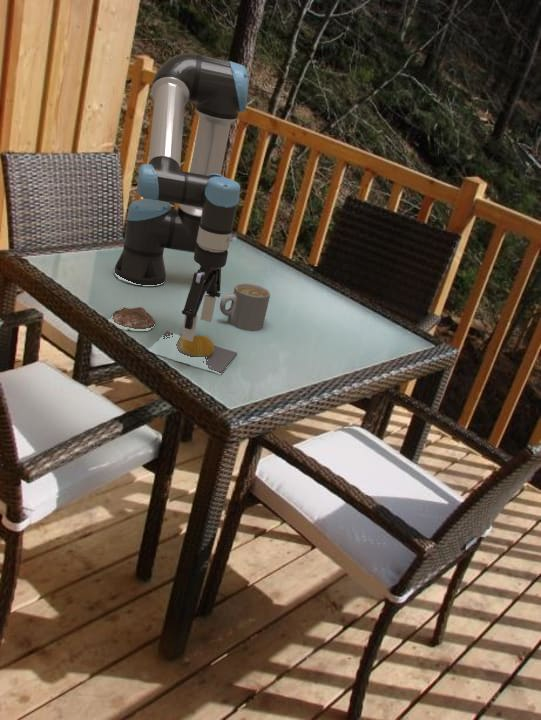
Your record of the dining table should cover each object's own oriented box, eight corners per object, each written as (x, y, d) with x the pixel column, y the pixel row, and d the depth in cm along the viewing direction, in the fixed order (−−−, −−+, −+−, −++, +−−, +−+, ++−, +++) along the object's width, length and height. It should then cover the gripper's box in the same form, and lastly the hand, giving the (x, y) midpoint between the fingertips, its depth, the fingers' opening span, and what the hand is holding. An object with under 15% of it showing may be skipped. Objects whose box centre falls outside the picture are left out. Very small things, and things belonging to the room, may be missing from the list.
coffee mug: (259, 317, 206) (266, 285, 202) (266, 332, 197) (273, 299, 193) (213, 312, 202) (219, 279, 198) (218, 327, 193) (225, 293, 189)
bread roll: (216, 359, 174) (219, 344, 172) (181, 358, 170) (183, 343, 168) (207, 343, 181) (210, 329, 179) (172, 342, 177) (175, 328, 175)
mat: (146, 352, 171) (146, 349, 171) (166, 333, 183) (167, 331, 182) (221, 375, 168) (221, 372, 168) (236, 355, 180) (237, 352, 180)
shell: (162, 321, 190) (164, 309, 189) (144, 338, 179) (146, 325, 177) (121, 309, 191) (123, 297, 190) (101, 325, 180) (103, 312, 178)
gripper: (210, 265, 152) (193, 353, 162) (243, 238, 175) (226, 317, 184) (177, 256, 153) (163, 343, 163) (214, 230, 176) (199, 308, 185)
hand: (196, 329), depth 173 cm, fingers open, 13 cm apart
